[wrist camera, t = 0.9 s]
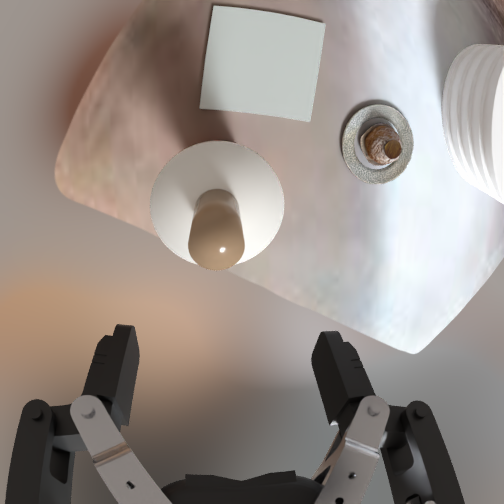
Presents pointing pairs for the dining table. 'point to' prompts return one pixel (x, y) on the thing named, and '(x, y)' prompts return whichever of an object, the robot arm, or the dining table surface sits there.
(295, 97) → the rubber mat
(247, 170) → the cup lid
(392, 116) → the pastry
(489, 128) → the plate stack
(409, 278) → the dining table surface
